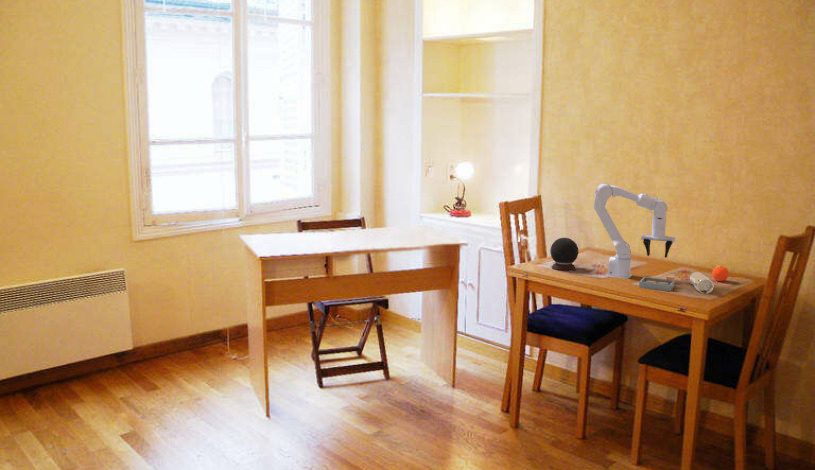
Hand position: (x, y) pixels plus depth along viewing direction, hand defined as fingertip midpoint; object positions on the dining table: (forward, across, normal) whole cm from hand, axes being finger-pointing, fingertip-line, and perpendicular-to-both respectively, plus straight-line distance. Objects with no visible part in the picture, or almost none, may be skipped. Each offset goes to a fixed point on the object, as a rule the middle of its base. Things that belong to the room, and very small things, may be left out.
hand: (657, 256), depth 341 cm
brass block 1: (+10, +1, -16) cm, 19 cm away
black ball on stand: (+10, -42, -2) cm, 44 cm away
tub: (+10, +4, -16) cm, 19 cm away
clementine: (+11, +26, +11) cm, 30 cm away
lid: (+11, +4, -6) cm, 13 cm away
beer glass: (+8, +18, -2) cm, 19 cm away
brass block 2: (+10, +6, -16) cm, 20 cm away
